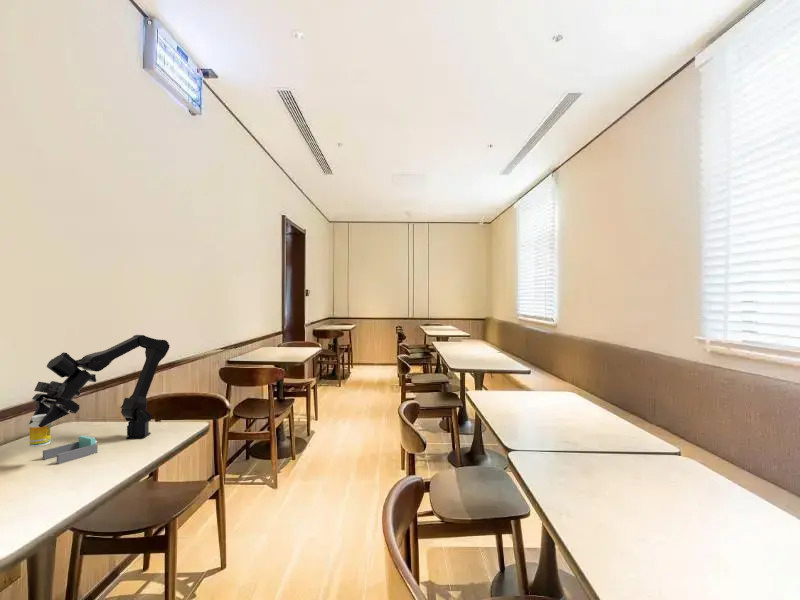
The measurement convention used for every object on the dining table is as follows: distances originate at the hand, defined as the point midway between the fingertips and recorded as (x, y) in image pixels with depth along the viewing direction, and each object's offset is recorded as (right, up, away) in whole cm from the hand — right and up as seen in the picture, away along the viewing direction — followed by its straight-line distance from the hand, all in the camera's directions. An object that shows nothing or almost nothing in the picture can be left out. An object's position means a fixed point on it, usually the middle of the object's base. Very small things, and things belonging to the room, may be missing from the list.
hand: (35, 425), depth 143 cm
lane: (+5, -13, +10) cm, 18 cm away
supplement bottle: (+1, -7, +1) cm, 7 cm away
